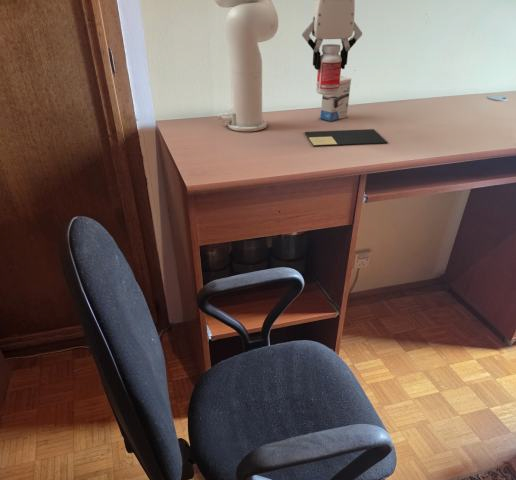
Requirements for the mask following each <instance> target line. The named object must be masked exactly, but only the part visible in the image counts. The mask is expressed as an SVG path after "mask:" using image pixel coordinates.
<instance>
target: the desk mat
mask: <svg viewBox="0 0 516 480" xmlns="http://www.w3.org/2000/svg"><path fill="white" fill-rule="evenodd" d="M304 134H305V136H306V138H307V140H308V141H309V143H311V145H312V147H338V146H339V147H340V146H361V145H364V146H365V145H383V144H384V145H385V144H388V141H387V140H386V139H385V138H384V137H383V136H381V134H380V133H378V132H377V131H376V129H373V128H369V129H367V128H365V129H345V130H342V129H341V130H320V131H319V130H318V131H317V130H316V131H304Z"/></svg>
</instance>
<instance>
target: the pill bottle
mask: <svg viewBox="0 0 516 480" xmlns="http://www.w3.org/2000/svg"><path fill="white" fill-rule="evenodd" d="M321 52H322V54H320V68H319V70H317V77H316V93H317V94H319V95H334V94H337V93H338V92H339V84H340V76H341V75H342V73H341V72H342V68H341V63H342V58H341V56H340V53H341V44H334V43H329V44H328V43H327V44H326V43H325V44H321Z"/></svg>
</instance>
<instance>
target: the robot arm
mask: <svg viewBox="0 0 516 480" xmlns="http://www.w3.org/2000/svg"><path fill="white" fill-rule="evenodd" d="M214 3H216V5H218V7H220V8H225V9H226V8H227V9H228V8H231V9H230V10H229V11H228V13H227V15H226V18H225V23H224V25H225V26H224V29H225V35H226V40H227V45H228V51H229V52H228V53H229V67H230V90H231V109H230V111H227V112H225V113H224V112H221V113H220V112H218V113H217V120H218V121H222V122H227V128H228V129H230V130H233V131H236V132H245V133H246V132H247V133H248V132H249V133H250V132H258V131H262V130H264V129H266V128H267V126H268V122H267V120H265V119H263V58H262V53H261V50H260V47H259V44H260V43H263V42H267V41H270V40H271V39H272V38H274V37H275V36H276V34H277V32H278V29H279V15H278V11H277V10H276V7H275V4H274V3H273V1H272V0H214ZM355 4H356V3H355V0H314V5H313V12H312V20H311V22H310V24H309V25H308V26H307V27H306V29H304V31H303V32H302V33H301V37H302V38H303V39H304V40H305V42H306V43H307V44H308V46H309V47H310V48H311V50H312V51H313V52H312V53H313V54H312V56H313V57H312V66H313V68H314V69H315V70H316V71H318V70H319V68H320V56H321V55H322V54H321V51H320V48H321V47H322V45H323V41H324V40H340V42H341V45H342V49H340V52H339V55H340V56H341V58H342V63H341V70H345V68H346V66H347V65H348V57H349V51H350V50H351V49H352V48H353V46H354V45H355V44H356V43H357V41H358V40H359V39H360V38H361V37H362V36H363V32H362V30H361V29H360V27H359V26H358V24H357V23H356V22H355V13H356V12H355V10H356V9H355V6H356V5H355ZM353 33H354V35H353ZM310 35H312V36H313V37H315V39H314V40H313V39H312V37H311V36H310Z"/></svg>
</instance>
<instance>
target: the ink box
mask: <svg viewBox="0 0 516 480" xmlns="http://www.w3.org/2000/svg"><path fill="white" fill-rule="evenodd" d="M351 84H352V78H351V77H347V76H343V75H340V84H339V92H338V93H337V94H334V95H322V94H321V95H322V97H321V105H320V106H321V107H320V120H324V121H329V122H333V121H334V122H335V121H337V120H341V119H344V118H347V117H348V109H349V100H350V91H351Z"/></svg>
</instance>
